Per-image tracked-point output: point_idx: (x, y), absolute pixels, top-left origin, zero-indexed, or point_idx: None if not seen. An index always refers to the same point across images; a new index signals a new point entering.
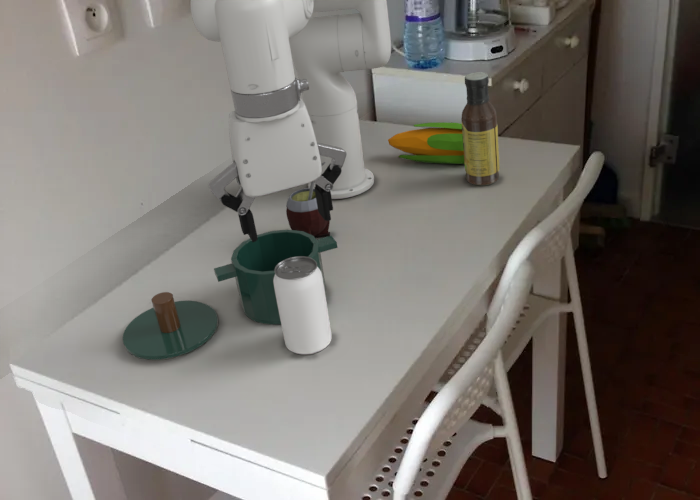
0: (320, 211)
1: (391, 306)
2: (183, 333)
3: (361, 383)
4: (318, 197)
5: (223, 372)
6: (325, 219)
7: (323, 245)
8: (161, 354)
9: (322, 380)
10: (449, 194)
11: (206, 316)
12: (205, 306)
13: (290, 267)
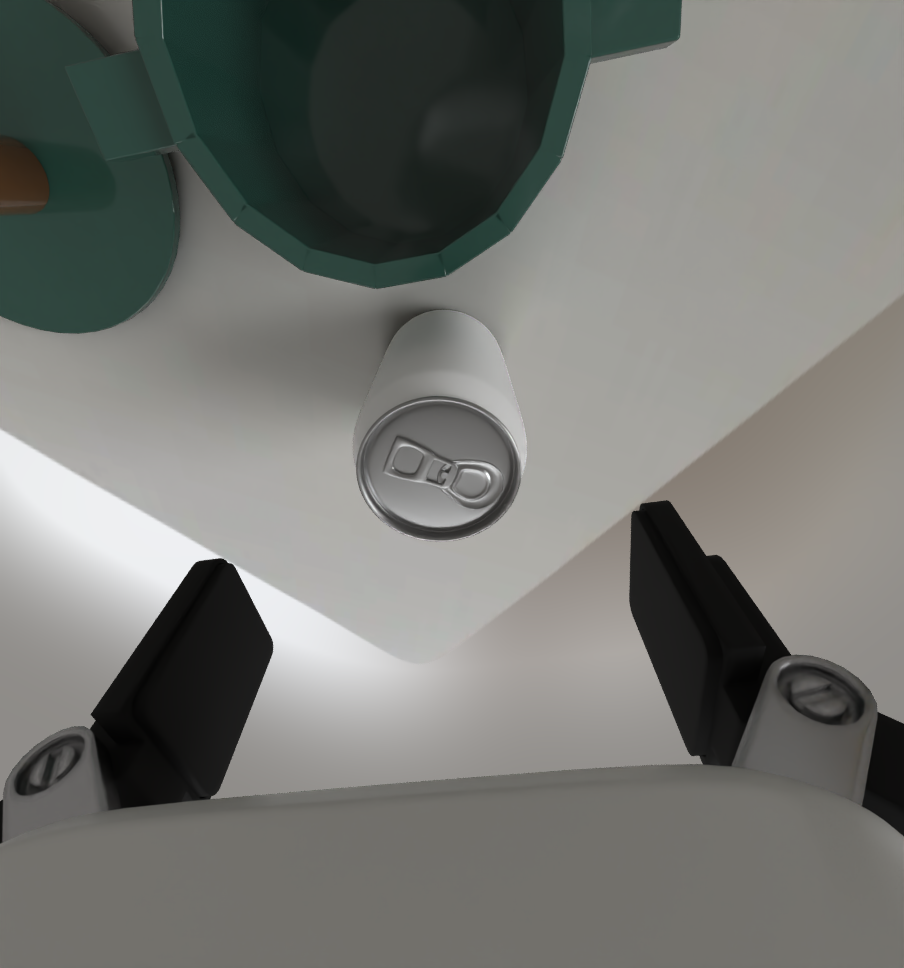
0: (639, 568)
1: (696, 282)
2: (76, 236)
3: (523, 532)
4: (675, 648)
5: (237, 414)
6: (633, 616)
7: (609, 49)
8: (46, 325)
9: None
10: None
11: None
12: None
13: (419, 450)
